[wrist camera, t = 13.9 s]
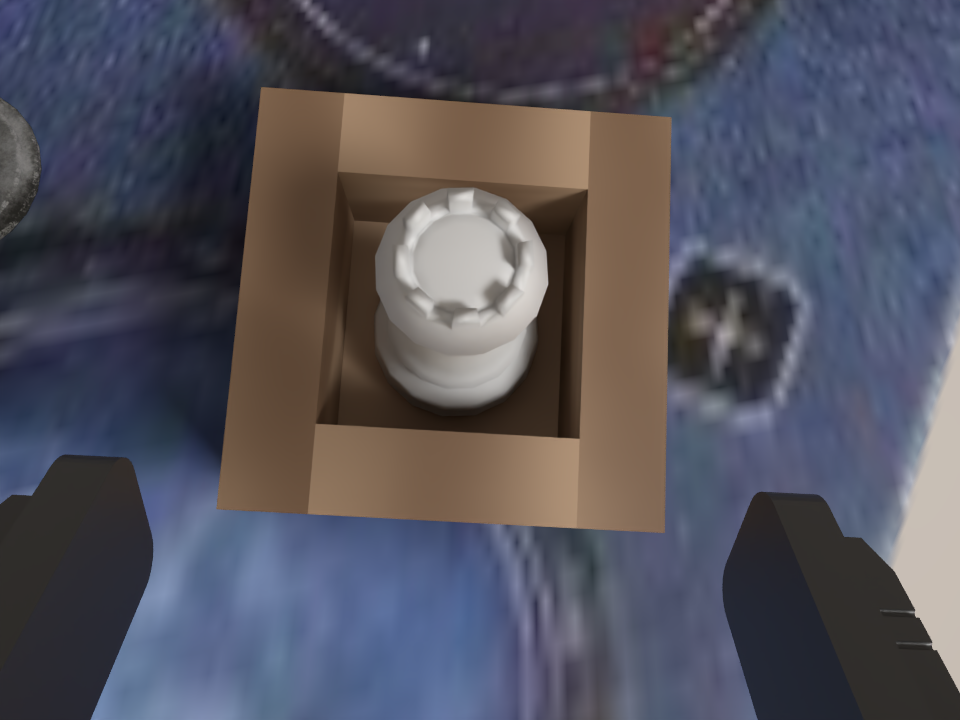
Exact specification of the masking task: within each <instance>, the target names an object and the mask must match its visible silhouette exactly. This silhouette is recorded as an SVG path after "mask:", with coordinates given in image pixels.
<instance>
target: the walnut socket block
mask: <svg viewBox="0 0 960 720" xmlns="http://www.w3.org/2000/svg"><path fill="white" fill-rule="evenodd" d="M670 171H671V117H658V116H645V115H631V114H618V113H604V112H591V111H577V110H564V109H550V108H537V107H523V106H510V105H496V104H483V103H469V102H456V101H442V100H429V99H415V98H402V97H388V96H375V95H361V94H348V93H334V92H321V91H307V90H294V89H280V88H267V87H261V94H260V104H259V113H258V122H257V132H256V141H255V151H254V160H253V169H252V179H251V188H250V198H249V207H248V217H247V226H246V235H245V245H244V254H243V264H242V273H241V283H240V292H239V301H238V311H237V320H236V330H235V339H234V349H233V358H232V367H231V377H230V386H229V396H228V405H227V415H226V424H225V433H224V443H223V452H222V462H221V471H220V481H219V490H218V499H217V509H223V510H242V511H261V512H280V513H298V514H317V515H336V516H355V517H374V518H393V519H412V520H431V521H450V522H468V523H487V524H506V525H525V526H544V527H563V528H582V529H601V530H619V531H638V532H657V533H665V476H666V415H667V354H668V293H669V232H670ZM470 187H474V188H477V189H480V190H483V191H486V192H488V193H491V194H494V195H497V196H499V197H502V198H505V199H507V200H508V201H509V202H510V203H512V204H513V205H514V206H515V207H516V208H517V209H518V210H519V211H521V212H522V213H523V214H524V215H525V216H526V217H527V218H528V219H530V220H531V221H532V223H533V225H534V227H535V229H536V231H537V233H538V235H539V237H540V239H541V241H542V243H543V245H544V247H545V249H546V254H547V271H548V286H547V289H546V292H545V295H544V297H543V300H542V303H541V306H540V308H539V311H538V314H537V326H538V344H537V349H536V352H535V355H534V358H533V361H532V363H531V366H530V369H529V372H528V375H527V377H526V379H525V380H524V381H523V382H522V383H521V384H520V385H519V386H518V388H517V389H516V390H515V391H514V392H513V393H512V394H511V395H510V396H509V397H508V398H507V400H506V401H505V402H502V403H500V404H498V405H496V406H494V407H492V408H490V409H487V410H485V411H483V412H481V413H479V414H477V415H464V416H440V415H438V414H435V413H432V412H429V411H427V410H424V409H421V408H419V407H416V406H413V405H411V404H410V403H409V402H408V401H407V400H406V399H405V398H404V397H403V396H402V395H401V394H400V393H398V392H397V391H396V390H395V389H394V388H393V387H392V386H391V385H390V384H389V383H388V381H387V379H386V377H385V375H384V373H383V370H382V368H381V366H380V364H379V362H378V359H377V357H376V355H375V337H374V314H375V312H376V309H377V307H378V304H379V302H380V297H379V295H378V293H377V290H376V268H375V255H376V253H377V250H378V248H379V245H380V243H381V240H382V238H383V235H384V233H385V230H386V228H387V225H388V224H389V223H390V222H391V221H392V220H393V219H394V218H395V217H396V216H397V215H398V214H399V213H400V212H401V211H402V210H403V209H404V208H405V207H406V206H407V205H408V204H409V203H410V202H411V201H414V200H416V199H418V198H421V197H423V196H425V195H428V194H430V193H432V192H435V191H437V190H439V189H445V188H470Z"/></svg>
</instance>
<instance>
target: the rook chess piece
mask: <svg viewBox="0 0 960 720" xmlns="http://www.w3.org/2000/svg"><path fill="white" fill-rule="evenodd" d="M375 268H376V290H377V293H378V295H379V297H380V302H379V304H378V307H377V309H376V312H375V314H374V337H375V355H376V357H377V359H378V362H379V364H380V366H381V368H382V370H383V373H384V375H385V377H386V379H387V381H388V383H389V384H390V385H391V386H392V387H393V388H394V389H395V390H396V391H397V392H398V393H400V394H401V395H402V396H403V397H404V398H405V399H406V400H407V401H408V402H409V403H410V404H411V405H413V406H416V407H419V408H421V409H424V410H427V411H429V412H432V413H435V414H438V415H440V416H464V415H477V414H479V413H481V412H483V411H485V410H487V409H490V408H492V407H494V406H496V405H498V404H500V403H502V402H505V401H506V400H507V398H508V397H509V396H510V395H511V394H512V393H513V392H514V391H515V390H516V389H517V388H518V386H519V385H520V384H521V383H522V382H523V381H524V380H525V379H526V377H527V375H528V372H529V369H530V366H531V363H532V361H533V358H534V355H535V352H536V349H537V344H538V326H537V314H538V311H539V308H540V306H541V303H542V300H543V297H544V295H545V292H546V289H547V286H548V271H547V254H546V249H545V247H544V245H543V243H542V241H541V239H540V237H539V235H538V233H537V231H536V229H535V227H534V225H533V223H532V221H531V220H530V219H528V218H527V217H526V216H525V215H524V214H523V213H522V212H521V211H519V210H518V209H517V208H516V207H515V206H514V205H513V204H512V203H510V202H509V201H508V200H507V199H505V198H502V197H499V196H497V195H494V194H491V193H488V192H486V191H483V190H480V189H477V188H474V187H470V188H445V189H439V190H437V191H435V192H432V193H430V194H428V195H425V196H423V197H421V198H418V199H416V200H414V201H411V202H410V203H409V204H408V205H407V206H406V207H405V208H404V209H403V210H402V211H401V212H400V213H399V214H398V215H397V216H396V217H395V218H394V219H393V220H392V221H391V222H390V223H389V224H388V225H387V228H386V230H385V233H384V235H383V238H382V240H381V243H380V245H379V248H378V250H377V253H376V255H375Z"/></svg>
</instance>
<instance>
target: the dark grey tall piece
mask: <svg viewBox="0 0 960 720" xmlns="http://www.w3.org/2000/svg"><path fill="white" fill-rule="evenodd" d="M40 175H41V159H40V150H39V145H38V143H37V141H36V138H35V136H34V133H33V131H32V128H31V127H30V125H29V124H28V123H27V122H26V120H25V119H24V118H23V117H22V115H21V114H20V113H19V112H18V110H17V109H15V108H14V107H13V106H11V105H10V104H8V103H7V102H6V101H4V100H3V99H1V98H0V239H1V238H3V237H4V236H6V235H7V234H8V233H10V232H11V231H12V230H13V229H14V228H15V227H16V225H17V224H18V223H19V222H20V221H21V219H22V218H23V217H24V216H25V215H26V214H27V212H28V210H29V208H30V206H31V204H32V202H33V200H34V198H35V195H36V193H37V191H38V186H39V180H40Z"/></svg>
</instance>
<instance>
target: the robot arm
mask: <svg viewBox="0 0 960 720" xmlns="http://www.w3.org/2000/svg"><path fill="white" fill-rule="evenodd" d="M152 560H153V539H152V534H151V530H150V527H149V523H148V519H147V515H146V512H145V508H144V504H143V500H142V497H141V493H140V489H139V485H138V482H137V478H136V474H135V470H134V467H133V465H132V463H131V461H130V460H129V459H127V458H123V457H103V456H83V455H62V456H60V457H59V458H57V459H56V460H55V461H54V463H53V464H52V465H51V467H50V468H49V470H48V471H47V473H46V475H45V476H44V478H43V479H42V481H41V482H40V484H39V486H38V487H37V489H36V490H35V492H34V493H33V495H32V496H27V495H11V496H10V497H9V498H7V499H6V500H5V501H4V502H2V503H1V504H0V720H90V719H91V717H92V715H93V712H94V710H95V707H96V705H97V703H98V700H99V698H100V696H101V693H102V691H103V688H104V686H105V684H106V681H107V679H108V677H109V674H110V672H111V669H112V667H113V665H114V662H115V660H116V657H117V655H118V653H119V650H120V648H121V646H122V643H123V641H124V638H125V636H126V634H127V631H128V629H129V627H130V624H131V622H132V619H133V617H134V615H135V612H136V610H137V607H138V605H139V603H140V600H141V598H142V596H143V593H144V591H145V588H146V586H147V583H148V580H149V576H150V572H151V567H152ZM723 602H724V608H725V613H726V616H727V620H728V623H729V626H730V630H731V633H732V636H733V640H734V643H735V646H736V649H737V653H738V656H739V659H740V663H741V666H742V669H743V673H744V676H745V679H746V682H747V686H748V689H749V692H750V696H751V699H752V702H753V706H754V709H755V712H756V715H757V719H758V720H960V693H959V691H958V689H957V687H956V685H955V683H954V681H953V680H952V678H951V676H950V674H949V672H948V670H947V668H946V666H945V665H944V663H943V661H942V659H941V657H940V655H939V654H938V652H937V650H933V649H932V641H931V639H930V637H929V635H928V633H927V631H926V629H925V628H924V626H923V624H922V622H921V620H920V618H916V617H915V613H914V612H915V609H914V607H913V605H912V603H911V601H910V600H909V598H908V596H907V594H906V592H905V590H904V588H903V587H902V585H901V583H900V581H899V579H898V577H897V575H896V574H895V572H894V571H893V570H892V569H891V568H890V567H889V566H888V565H887V564H886V563H885V562H884V561H883V560H882V559H881V558H880V557H879V556H878V554H877V553H876V552H875V551H874V550H873V549H872V548H871V547H870V546H869V545H868V544H867V543H866V542H865V541H864V540H863V539H862V538H854V537H844V536H843V534H842V532H841V530H840V528H839V526H838V524H837V522H836V520H835V518H834V516H833V514H832V512H831V510H830V508H829V506H828V504H827V503H826V501H825V500H824V499H823V498H822V497H821V496H819V495H814V494H794V493H774V492H759V493H757V494H756V495H755V496H754V497H753V499H752V501H751V503H750V505H749V508H748V510H747V513H746V515H745V518H744V520H743V523H742V525H741V528H740V530H739V533H738V535H737V538H736V540H735V543H734V545H733V548H732V550H731V553H730V555H729V558H728V560H727V563H726V566H725V569H724V574H723Z"/></svg>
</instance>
